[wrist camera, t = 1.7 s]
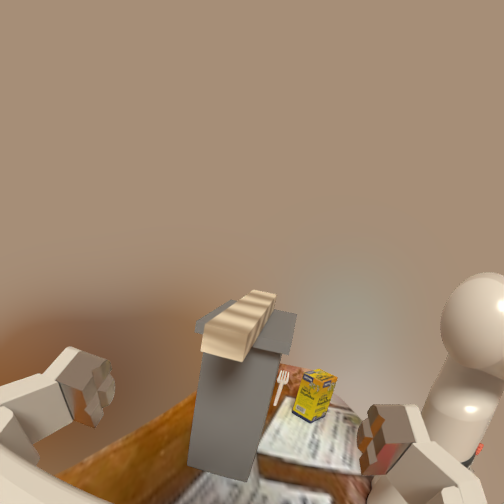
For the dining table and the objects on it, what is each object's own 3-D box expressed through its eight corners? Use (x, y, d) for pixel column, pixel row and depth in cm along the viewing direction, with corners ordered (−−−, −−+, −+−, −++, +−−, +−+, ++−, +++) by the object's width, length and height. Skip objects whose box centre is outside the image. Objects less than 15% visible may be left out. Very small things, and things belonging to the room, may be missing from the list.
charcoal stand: (250, 491, 37) (291, 343, 36) (176, 469, 39) (196, 321, 38) (266, 434, 55) (296, 314, 54) (209, 419, 57) (230, 299, 56)
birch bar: (241, 365, 27) (247, 334, 27) (199, 353, 28) (204, 323, 28) (273, 311, 53) (276, 294, 53) (250, 306, 54) (253, 289, 53)
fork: (267, 406, 69) (268, 400, 68) (278, 375, 88) (279, 369, 88) (280, 409, 68) (282, 403, 68) (289, 377, 87) (290, 372, 87)
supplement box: (310, 424, 61) (323, 382, 61) (291, 412, 66) (302, 372, 65) (325, 417, 65) (338, 377, 65) (306, 406, 70) (318, 367, 69)
